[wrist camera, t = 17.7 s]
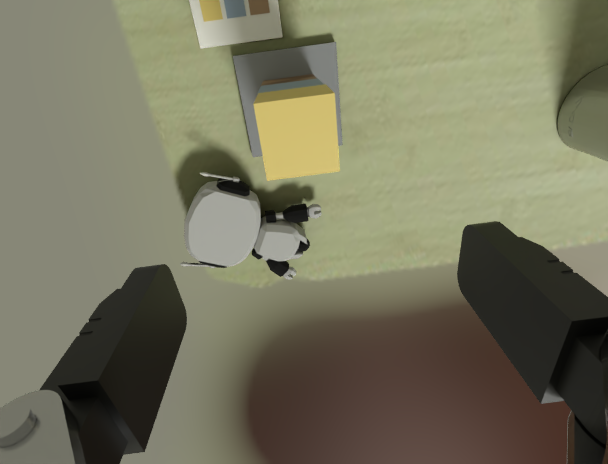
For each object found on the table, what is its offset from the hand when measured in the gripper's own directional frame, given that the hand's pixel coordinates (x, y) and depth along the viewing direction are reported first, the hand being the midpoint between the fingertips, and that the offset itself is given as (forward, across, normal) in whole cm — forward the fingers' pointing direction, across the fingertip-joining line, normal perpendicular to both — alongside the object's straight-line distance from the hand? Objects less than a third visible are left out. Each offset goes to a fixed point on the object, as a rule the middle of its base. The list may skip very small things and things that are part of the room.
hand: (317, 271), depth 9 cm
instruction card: (+30, +4, -9) cm, 32 cm away
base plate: (+30, 0, 0) cm, 30 cm away
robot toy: (+30, +7, +14) cm, 34 cm away
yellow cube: (+19, 0, 0) cm, 19 cm away
